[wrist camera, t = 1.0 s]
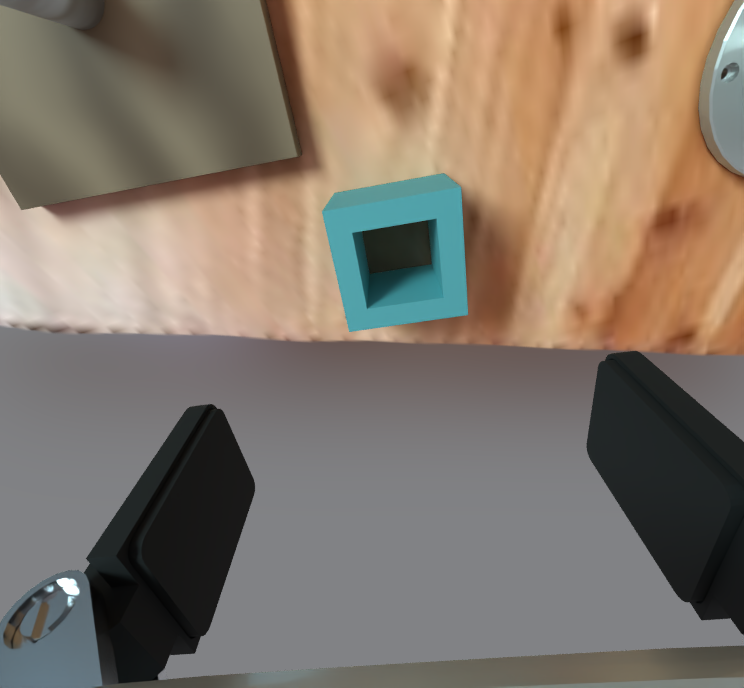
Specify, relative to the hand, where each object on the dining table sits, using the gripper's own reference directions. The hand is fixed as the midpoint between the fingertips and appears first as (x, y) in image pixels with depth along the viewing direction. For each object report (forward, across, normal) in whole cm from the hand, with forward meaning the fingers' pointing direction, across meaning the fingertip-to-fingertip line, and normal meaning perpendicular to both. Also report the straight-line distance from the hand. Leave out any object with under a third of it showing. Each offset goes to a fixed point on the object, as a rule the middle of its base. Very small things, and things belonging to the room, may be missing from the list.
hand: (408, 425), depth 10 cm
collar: (+19, 0, 0) cm, 19 cm away
